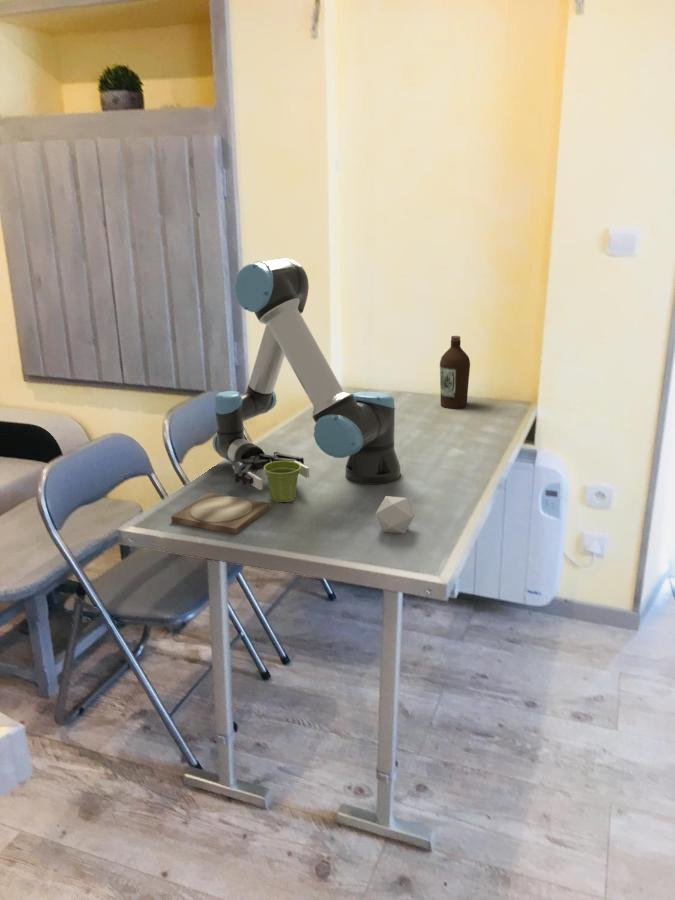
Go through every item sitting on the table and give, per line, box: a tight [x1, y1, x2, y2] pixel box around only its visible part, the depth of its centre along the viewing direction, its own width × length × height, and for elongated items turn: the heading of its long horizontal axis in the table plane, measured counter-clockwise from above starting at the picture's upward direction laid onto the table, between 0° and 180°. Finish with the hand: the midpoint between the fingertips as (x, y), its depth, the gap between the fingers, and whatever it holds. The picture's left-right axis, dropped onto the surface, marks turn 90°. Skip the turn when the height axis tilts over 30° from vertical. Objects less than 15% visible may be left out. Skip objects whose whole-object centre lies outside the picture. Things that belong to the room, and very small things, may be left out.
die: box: [375, 495, 415, 535], centre depth 172 cm, size 8×9×10 cm
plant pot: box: [263, 461, 301, 503], centre depth 191 cm, size 9×9×9 cm
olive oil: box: [439, 335, 471, 410], centre depth 266 cm, size 11×11×25 cm
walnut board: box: [171, 492, 271, 535], centre depth 182 cm, size 18×16×2 cm
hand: (284, 478), depth 189 cm, fingers open, 13 cm apart
